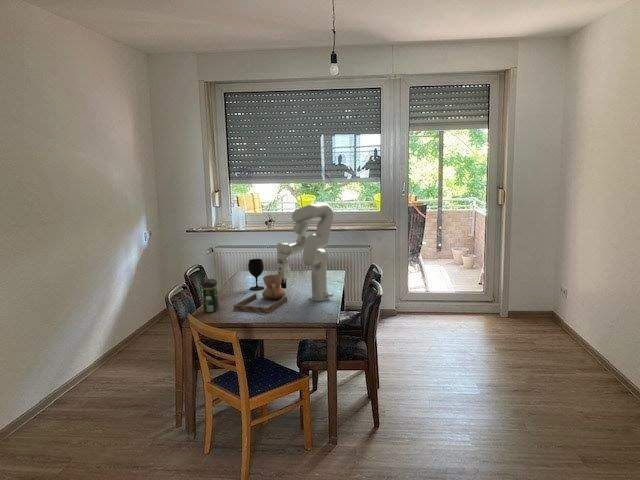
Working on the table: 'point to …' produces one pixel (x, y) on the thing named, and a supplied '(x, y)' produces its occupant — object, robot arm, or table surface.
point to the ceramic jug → (273, 287)
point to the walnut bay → (243, 307)
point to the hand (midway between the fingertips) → (283, 288)
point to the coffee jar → (210, 295)
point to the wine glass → (256, 271)
